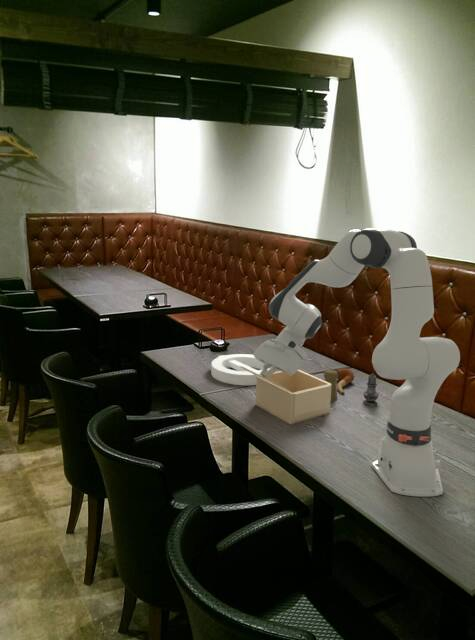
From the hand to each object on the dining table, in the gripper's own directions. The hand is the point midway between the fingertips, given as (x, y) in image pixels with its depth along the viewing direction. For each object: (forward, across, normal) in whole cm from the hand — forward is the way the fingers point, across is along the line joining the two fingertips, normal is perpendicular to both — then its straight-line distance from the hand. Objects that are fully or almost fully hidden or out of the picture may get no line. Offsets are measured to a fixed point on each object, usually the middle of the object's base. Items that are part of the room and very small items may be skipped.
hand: (263, 376), depth 193 cm
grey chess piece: (-20, +10, +41) cm, 47 cm away
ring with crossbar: (-3, -40, +26) cm, 48 cm away
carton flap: (-1, 0, +6) cm, 6 cm away
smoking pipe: (-22, -7, +45) cm, 51 cm away
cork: (-12, -1, +34) cm, 36 cm away
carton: (+1, 0, +20) cm, 20 cm away
